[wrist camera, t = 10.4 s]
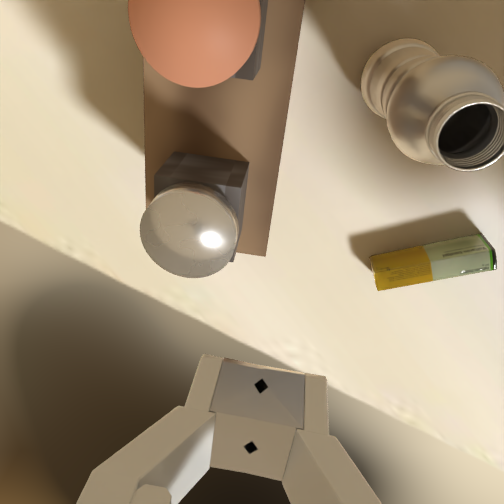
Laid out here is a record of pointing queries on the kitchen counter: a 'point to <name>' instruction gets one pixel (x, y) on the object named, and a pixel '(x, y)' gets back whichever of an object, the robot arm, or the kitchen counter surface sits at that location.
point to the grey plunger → (189, 230)
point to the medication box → (433, 262)
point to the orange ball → (195, 37)
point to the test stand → (228, 127)
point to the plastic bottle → (436, 104)
